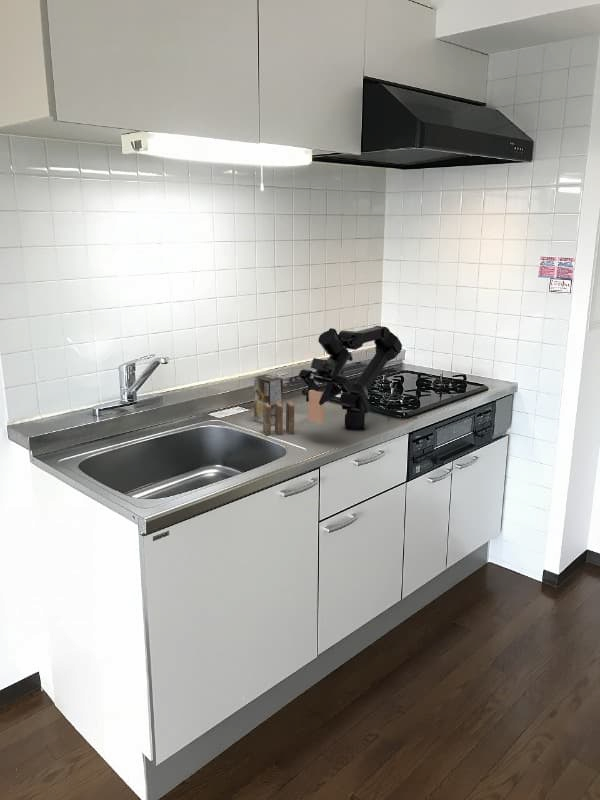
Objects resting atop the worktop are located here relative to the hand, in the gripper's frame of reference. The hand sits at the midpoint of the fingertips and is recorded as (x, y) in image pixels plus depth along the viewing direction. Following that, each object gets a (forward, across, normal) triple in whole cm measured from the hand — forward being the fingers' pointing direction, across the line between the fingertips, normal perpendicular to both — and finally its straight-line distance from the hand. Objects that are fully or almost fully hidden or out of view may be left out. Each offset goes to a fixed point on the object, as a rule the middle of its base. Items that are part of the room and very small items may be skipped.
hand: (313, 402), depth 209 cm
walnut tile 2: (+7, -13, +12) cm, 19 cm away
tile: (+4, 0, +6) cm, 7 cm away
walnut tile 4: (+11, -18, +8) cm, 23 cm away
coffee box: (+4, -27, +15) cm, 31 cm away
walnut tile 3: (+9, -16, +10) cm, 21 cm away
